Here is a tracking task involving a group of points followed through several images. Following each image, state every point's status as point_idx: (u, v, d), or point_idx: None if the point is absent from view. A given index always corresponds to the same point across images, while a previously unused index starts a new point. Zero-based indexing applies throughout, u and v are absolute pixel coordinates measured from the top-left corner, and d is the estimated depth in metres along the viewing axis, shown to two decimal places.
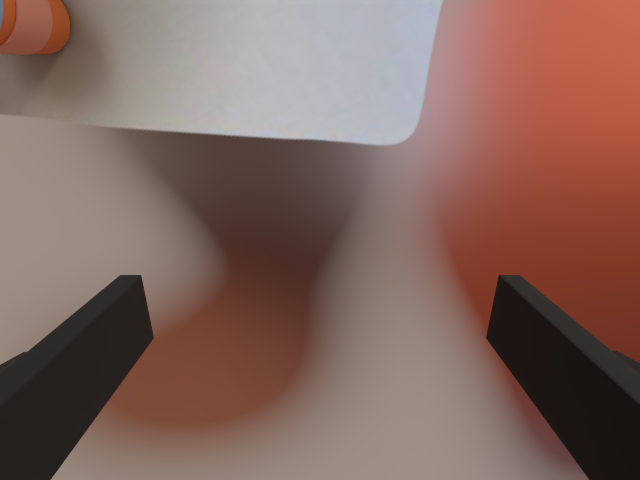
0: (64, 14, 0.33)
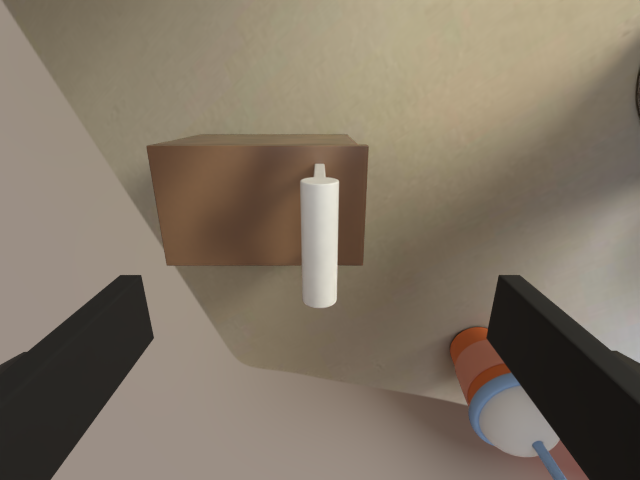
0: None
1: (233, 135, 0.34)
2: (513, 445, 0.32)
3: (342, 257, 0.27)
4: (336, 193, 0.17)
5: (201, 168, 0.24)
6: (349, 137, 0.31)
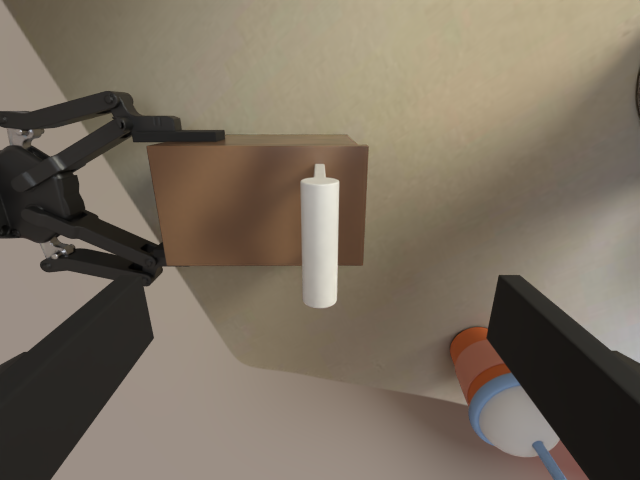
0: None
1: (233, 135, 0.34)
2: (513, 445, 0.32)
3: (342, 257, 0.27)
4: (336, 193, 0.18)
5: (201, 168, 0.24)
6: (349, 137, 0.31)
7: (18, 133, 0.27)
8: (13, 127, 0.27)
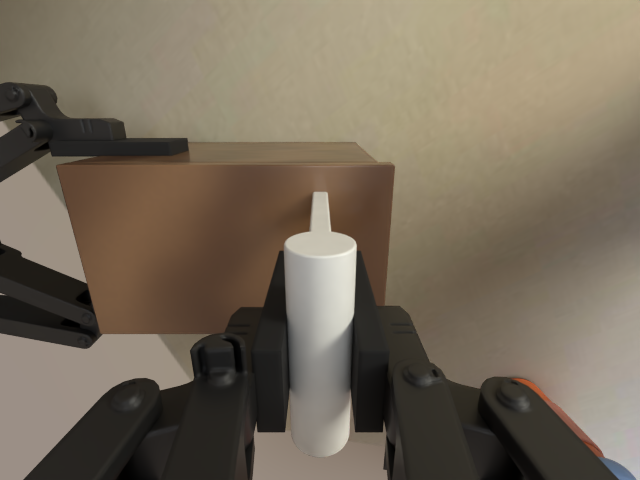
0: None
1: (205, 144, 0.25)
2: None
3: None
4: (352, 269, 0.09)
5: (141, 198, 0.16)
6: (360, 147, 0.23)
7: None
8: None
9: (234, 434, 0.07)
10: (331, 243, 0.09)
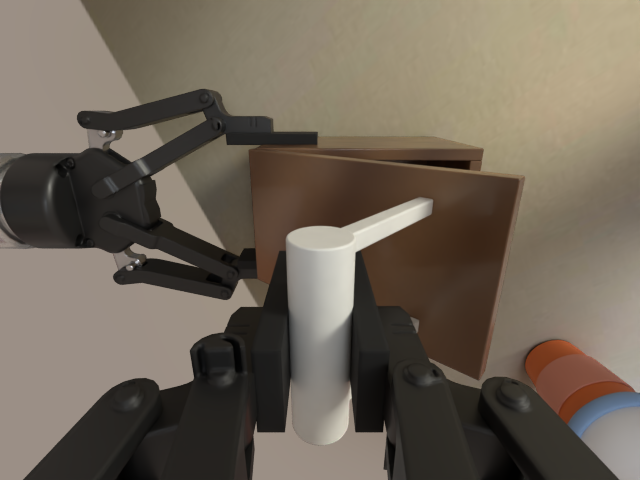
0: None
1: None
2: (625, 472, 0.29)
3: (445, 353, 0.16)
4: (332, 268, 0.09)
5: (289, 181, 0.20)
6: (448, 140, 0.29)
7: (101, 135, 0.25)
8: (96, 128, 0.25)
9: (234, 434, 0.07)
10: (326, 239, 0.10)
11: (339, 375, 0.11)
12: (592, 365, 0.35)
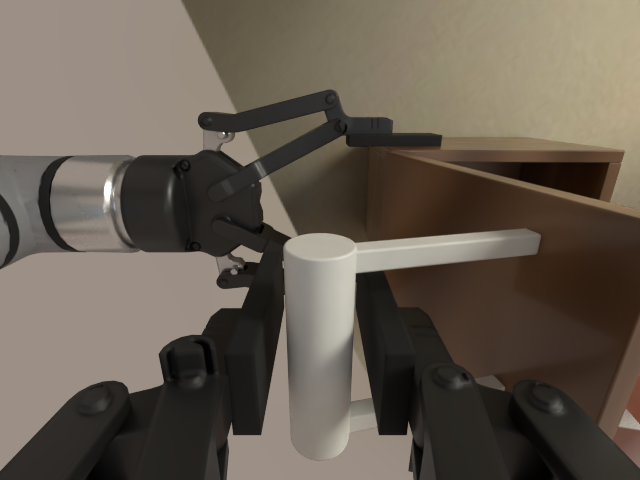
0: None
1: None
2: None
3: None
4: (308, 279, 0.09)
5: (410, 187, 0.19)
6: (557, 141, 0.28)
7: (221, 136, 0.24)
8: (216, 130, 0.24)
9: (204, 436, 0.06)
10: (318, 248, 0.09)
11: (320, 393, 0.10)
12: None
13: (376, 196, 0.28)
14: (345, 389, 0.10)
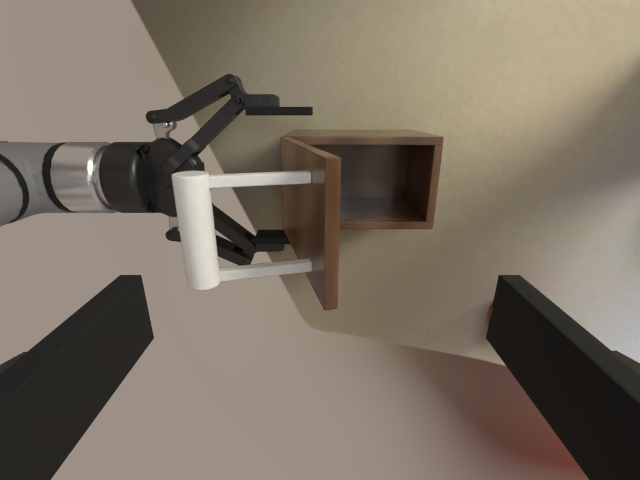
0: None
1: None
2: None
3: (317, 288, 0.22)
4: (180, 187, 0.19)
5: (287, 159, 0.29)
6: (422, 132, 0.39)
7: (164, 126, 0.34)
8: (160, 121, 0.34)
9: None
10: (187, 174, 0.19)
11: (194, 249, 0.20)
12: None
13: None
14: (209, 250, 0.21)
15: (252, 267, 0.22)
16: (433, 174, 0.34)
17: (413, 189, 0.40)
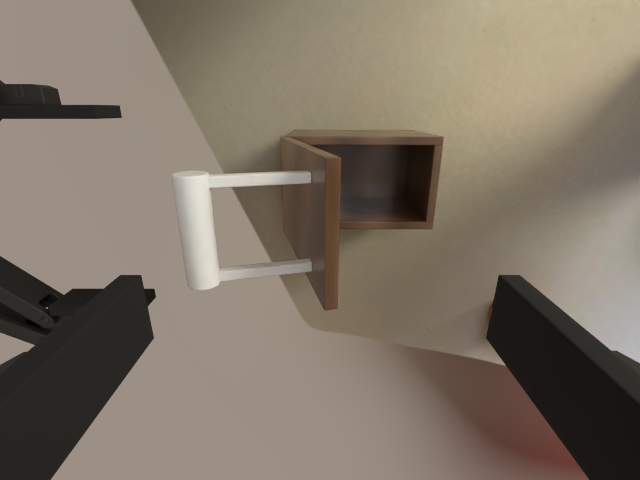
0: None
1: None
2: None
3: (317, 288, 0.22)
4: (180, 186, 0.19)
5: (287, 159, 0.29)
6: (422, 132, 0.39)
7: None
8: None
9: None
10: (187, 174, 0.19)
11: (194, 249, 0.20)
12: None
13: None
14: (209, 250, 0.21)
15: (252, 267, 0.22)
16: (433, 174, 0.34)
17: (413, 188, 0.40)
